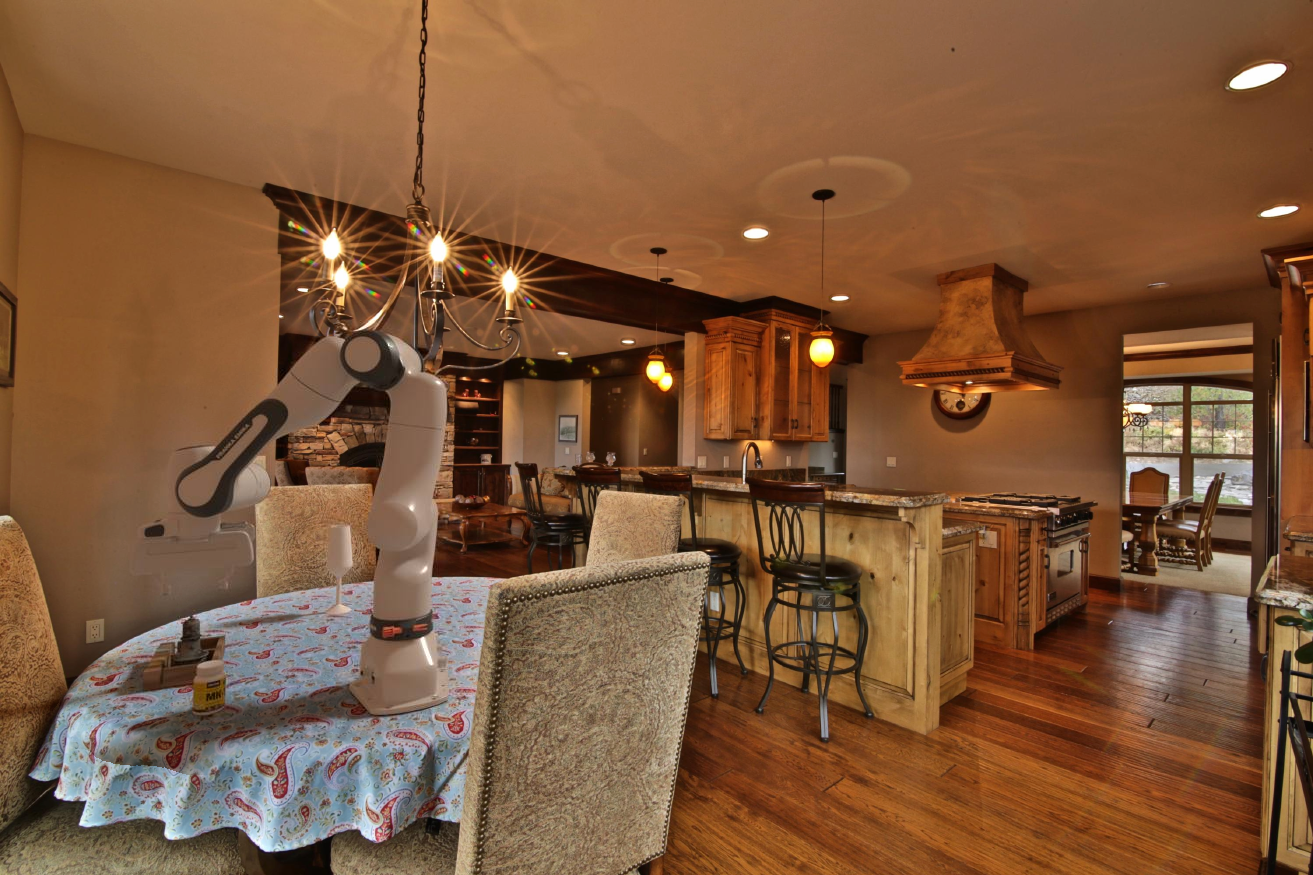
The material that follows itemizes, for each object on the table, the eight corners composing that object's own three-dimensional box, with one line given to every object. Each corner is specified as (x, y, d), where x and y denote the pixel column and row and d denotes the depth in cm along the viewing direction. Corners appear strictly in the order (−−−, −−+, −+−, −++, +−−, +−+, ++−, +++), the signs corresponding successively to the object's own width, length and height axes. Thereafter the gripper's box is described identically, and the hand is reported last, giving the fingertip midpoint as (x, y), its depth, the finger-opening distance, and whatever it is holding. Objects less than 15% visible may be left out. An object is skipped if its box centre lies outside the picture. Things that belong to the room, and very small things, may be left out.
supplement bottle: (205, 718, 106) (207, 670, 106) (185, 713, 107) (187, 667, 107) (231, 706, 111) (232, 660, 111) (212, 702, 112) (213, 657, 112)
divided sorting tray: (216, 679, 122) (216, 660, 122) (142, 691, 116) (143, 670, 116) (224, 651, 137) (225, 634, 137) (160, 659, 131) (160, 641, 131)
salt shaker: (166, 674, 122) (167, 615, 122) (198, 665, 127) (200, 608, 127) (181, 680, 119) (182, 620, 119) (214, 670, 125) (215, 612, 125)
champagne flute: (350, 606, 174) (352, 523, 174) (352, 612, 168) (355, 527, 168) (323, 609, 170) (326, 524, 170) (325, 615, 165) (328, 528, 165)
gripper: (256, 519, 131) (256, 582, 131) (133, 526, 121) (134, 594, 121) (254, 522, 126) (254, 588, 126) (126, 530, 115) (126, 602, 115)
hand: (194, 591), depth 123 cm, fingers open, 8 cm apart
